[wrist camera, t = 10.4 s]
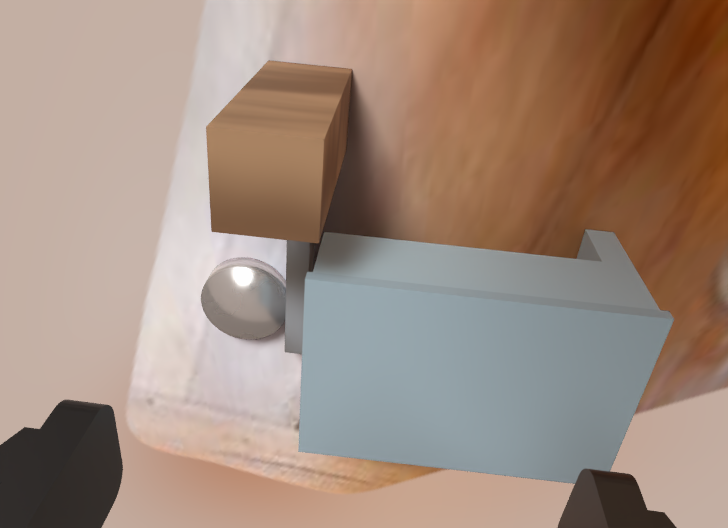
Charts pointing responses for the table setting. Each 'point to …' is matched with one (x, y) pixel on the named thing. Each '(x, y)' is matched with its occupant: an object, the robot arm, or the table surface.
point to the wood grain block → (281, 166)
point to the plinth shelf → (475, 355)
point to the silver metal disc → (245, 298)
